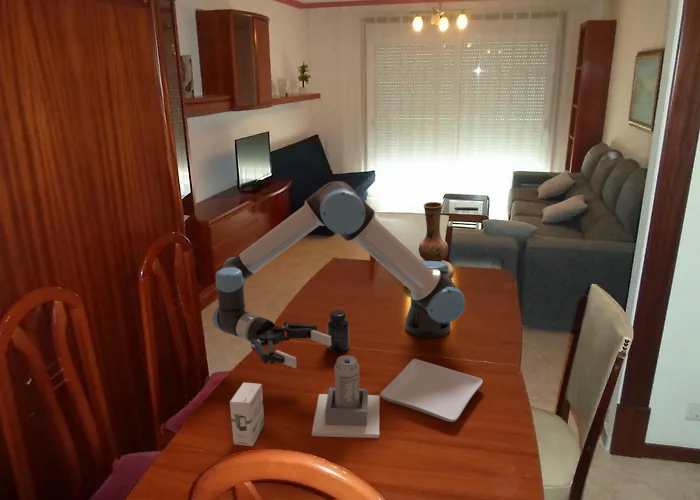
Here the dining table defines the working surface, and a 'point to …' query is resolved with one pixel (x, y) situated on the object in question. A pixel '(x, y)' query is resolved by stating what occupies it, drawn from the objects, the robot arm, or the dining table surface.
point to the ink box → (247, 414)
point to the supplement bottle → (338, 331)
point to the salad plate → (432, 390)
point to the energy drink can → (346, 382)
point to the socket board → (347, 417)
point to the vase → (434, 238)
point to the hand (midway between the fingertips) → (313, 351)
